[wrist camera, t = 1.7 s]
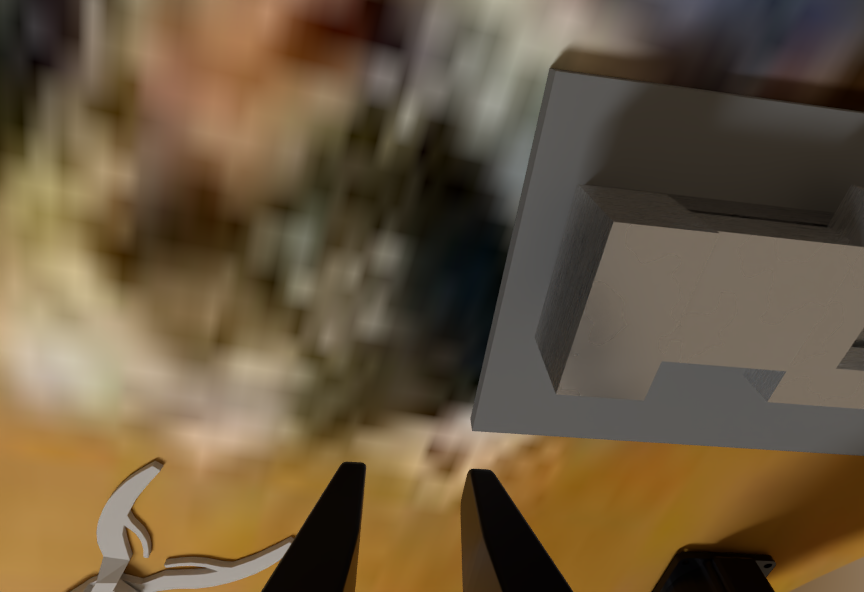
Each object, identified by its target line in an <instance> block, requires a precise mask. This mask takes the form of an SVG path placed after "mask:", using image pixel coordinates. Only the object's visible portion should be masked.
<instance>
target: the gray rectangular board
mask: <svg viewBox="0 0 864 592" xmlns="http://www.w3.org/2000/svg"><path fill="white" fill-rule="evenodd" d="M578 184H582V185H585V184H588V185H597V186H606V187H614V188H623V189H632V190H640V191H649V192H658V193H666V194H675V195H683V196H692V197H701V198H709V199H718V200H727V201H735V202H744V203H753V204H761V205H770V206H778V207H787V208H796V209H804V210H813V211H822V212H830V213H835V212H836V210H837V209H838V207H839V205H840V203H841V201H842V200H843V198H844V196H845V194H846V193H847V191H848V189H849V187H850V186H851V185H856V186H864V112H861V111H854V110H847V109H840V108H832V107H825V106H818V105H811V104H804V103H796V102H789V101H782V100H775V99H768V98H760V97H753V96H746V95H739V94H732V93H724V92H717V91H710V90H703V89H695V88H688V87H681V86H674V85H667V84H659V83H652V82H645V81H638V80H631V79H623V78H616V77H609V76H602V75H595V74H587V73H580V72H573V71H566V70H559V69H551V68H550V69H549V74H548V78H547V82H546V87H545V91H544V96H543V100H542V105H541V109H540V113H539V118H538V122H537V127H536V131H535V136H534V140H533V144H532V149H531V153H530V158H529V162H528V167H527V171H526V175H525V180H524V184H523V189H522V193H521V198H520V202H519V206H518V211H517V215H516V220H515V224H514V229H513V233H512V237H511V242H510V246H509V251H508V255H507V260H506V264H505V268H504V273H503V277H502V282H501V286H500V291H499V295H498V299H497V304H496V308H495V313H494V317H493V322H492V326H491V330H490V335H489V339H488V344H487V348H486V353H485V357H484V361H483V366H482V370H481V375H480V379H479V384H478V388H477V392H476V397H475V401H474V406H473V410H472V415H471V426H472V431H481V432H497V433H513V434H529V435H544V436H560V437H576V438H592V439H608V440H623V441H639V442H655V443H671V444H687V445H703V446H718V447H734V448H750V449H766V450H782V451H797V452H813V453H829V454H845V455H861V456H864V409H854V408H840V407H827V406H813V405H799V404H786V403H772V402H767V401H766V400H765V399H764V398H763V397H762V396H761V395H760V393H759V392H758V391H757V390H756V389H755V388H754V387H753V386H752V385H751V384H750V382H749V381H748V380H747V379H746V378H745V377H744V376H743V374H744V372H745V370H746V368H739V367H726V366H714V365H701V364H689V363H676V362H664V361H662V362H661V364H660V366H659V368H658V371H657V373H656V375H655V377H654V379H653V382H652V384H651V386H650V388H649V390H648V393H647V395H646V397H645V399H644V401H641V400H627V399H613V398H599V397H585V396H571V395H557V394H556V393H555V391H554V388H553V385H552V383H551V380H550V377H549V375H548V372H547V369H546V367H545V364H544V361H543V359H542V356H541V353H540V351H539V348H538V345H537V343H536V340H535V333H536V330H537V326H538V323H539V319H540V316H541V312H542V308H543V305H544V301H545V298H546V294H547V291H548V287H549V284H550V280H551V277H552V273H553V270H554V266H555V262H556V259H557V255H558V252H559V248H560V245H561V241H562V238H563V234H564V231H565V227H566V223H567V220H568V216H569V213H570V209H571V206H572V202H573V199H574V195H575V192H576V188H577V185H578Z"/></svg>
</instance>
